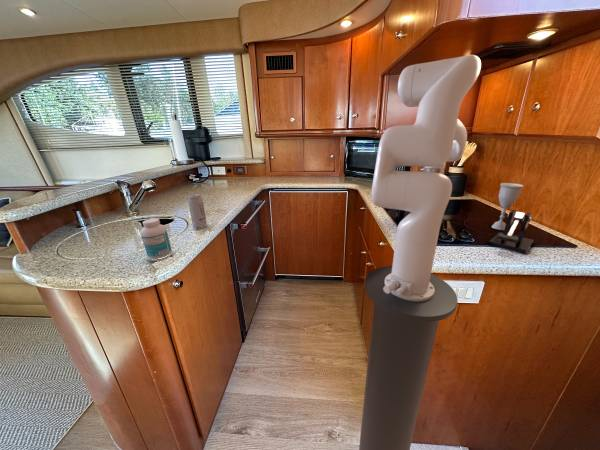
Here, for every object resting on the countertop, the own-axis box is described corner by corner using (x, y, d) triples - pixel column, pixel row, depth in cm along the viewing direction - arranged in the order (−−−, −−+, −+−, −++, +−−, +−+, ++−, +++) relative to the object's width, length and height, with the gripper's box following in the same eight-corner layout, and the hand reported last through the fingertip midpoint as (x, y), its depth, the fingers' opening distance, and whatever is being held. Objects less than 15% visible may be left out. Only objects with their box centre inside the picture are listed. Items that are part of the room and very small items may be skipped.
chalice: (485, 224, 102) (496, 182, 96) (502, 224, 101) (515, 183, 95) (495, 230, 96) (507, 186, 89) (514, 231, 94) (528, 186, 88)
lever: (516, 244, 76) (517, 239, 75) (497, 239, 80) (498, 235, 78) (529, 219, 80) (530, 214, 78) (510, 215, 83) (511, 210, 82)
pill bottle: (157, 252, 86) (148, 216, 81) (177, 252, 85) (168, 216, 81) (143, 262, 79) (131, 224, 74) (163, 262, 78) (153, 224, 74)
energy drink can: (203, 229, 106) (197, 196, 101) (190, 229, 107) (184, 196, 101) (209, 224, 112) (204, 193, 106) (197, 224, 112) (191, 193, 107)
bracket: (525, 254, 77) (537, 220, 73) (488, 244, 84) (497, 213, 80) (533, 243, 84) (544, 212, 80) (498, 235, 91) (506, 206, 87)
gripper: (411, 171, 101) (405, 212, 108) (449, 174, 90) (440, 220, 97) (419, 169, 106) (414, 208, 112) (457, 172, 95) (448, 216, 101)
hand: (426, 213), depth 105 cm, fingers closed
